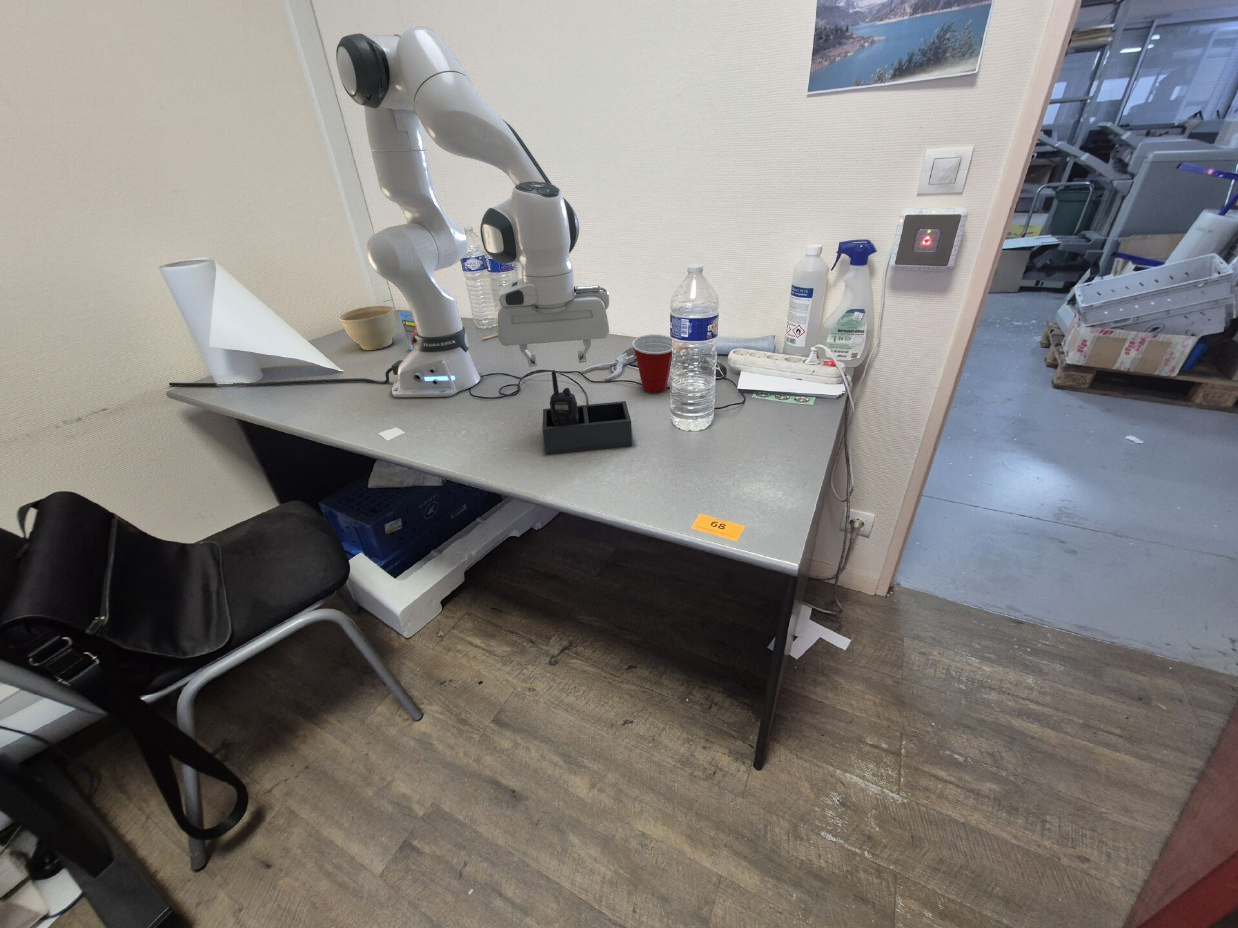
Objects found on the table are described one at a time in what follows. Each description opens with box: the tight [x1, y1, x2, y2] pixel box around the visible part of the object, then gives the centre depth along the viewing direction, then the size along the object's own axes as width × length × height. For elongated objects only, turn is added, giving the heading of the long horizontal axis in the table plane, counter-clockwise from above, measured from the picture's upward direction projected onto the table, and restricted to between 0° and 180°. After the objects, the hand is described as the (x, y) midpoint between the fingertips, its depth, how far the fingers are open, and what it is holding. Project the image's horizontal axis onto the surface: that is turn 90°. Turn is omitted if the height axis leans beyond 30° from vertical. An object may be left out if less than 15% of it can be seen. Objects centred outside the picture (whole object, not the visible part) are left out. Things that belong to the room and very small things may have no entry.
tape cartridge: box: [398, 310, 417, 351], centre depth 154 cm, size 9×4×12 cm, turn 58°
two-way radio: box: [549, 369, 579, 427], centre depth 100 cm, size 6×4×15 cm
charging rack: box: [541, 400, 633, 456], centre depth 103 cm, size 9×17×6 cm, turn 96°
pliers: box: [580, 352, 636, 382], centre depth 137 cm, size 10×2×15 cm
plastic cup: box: [631, 333, 673, 394], centre depth 121 cm, size 11×11×12 cm
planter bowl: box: [338, 305, 396, 351], centre depth 161 cm, size 16×16×11 cm
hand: (557, 363), depth 95 cm, fingers open, 8 cm apart
